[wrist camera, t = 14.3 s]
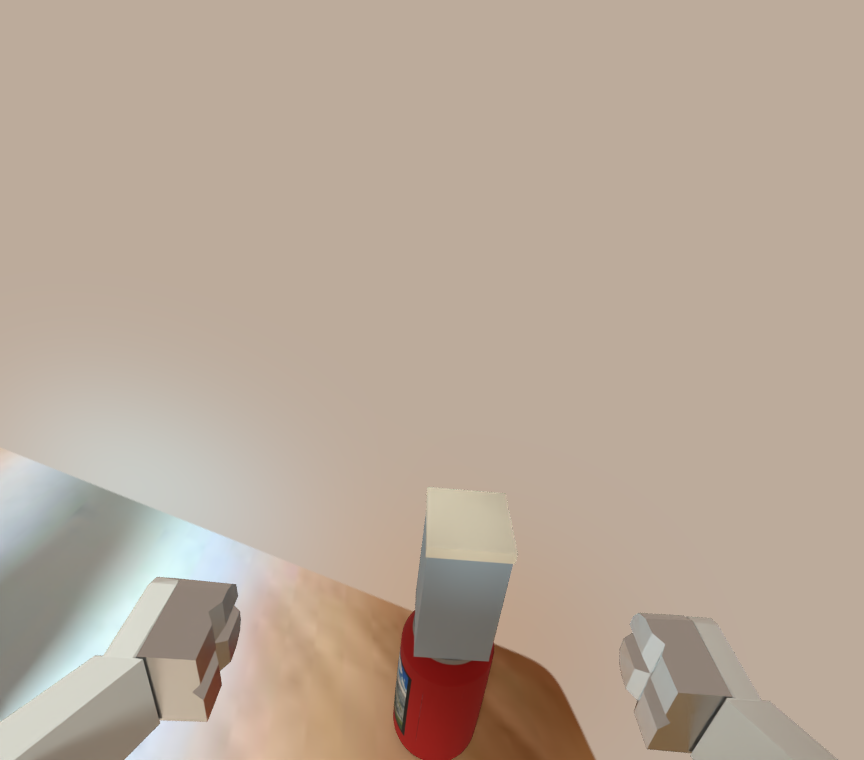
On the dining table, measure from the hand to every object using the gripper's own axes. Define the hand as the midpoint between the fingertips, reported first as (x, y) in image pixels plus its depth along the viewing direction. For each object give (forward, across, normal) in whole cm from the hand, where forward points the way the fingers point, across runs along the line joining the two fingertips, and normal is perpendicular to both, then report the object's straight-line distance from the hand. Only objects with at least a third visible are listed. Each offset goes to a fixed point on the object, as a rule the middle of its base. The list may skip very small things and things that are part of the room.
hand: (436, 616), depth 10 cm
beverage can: (+16, -3, +34) cm, 38 cm away
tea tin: (+16, -3, +22) cm, 27 cm away
